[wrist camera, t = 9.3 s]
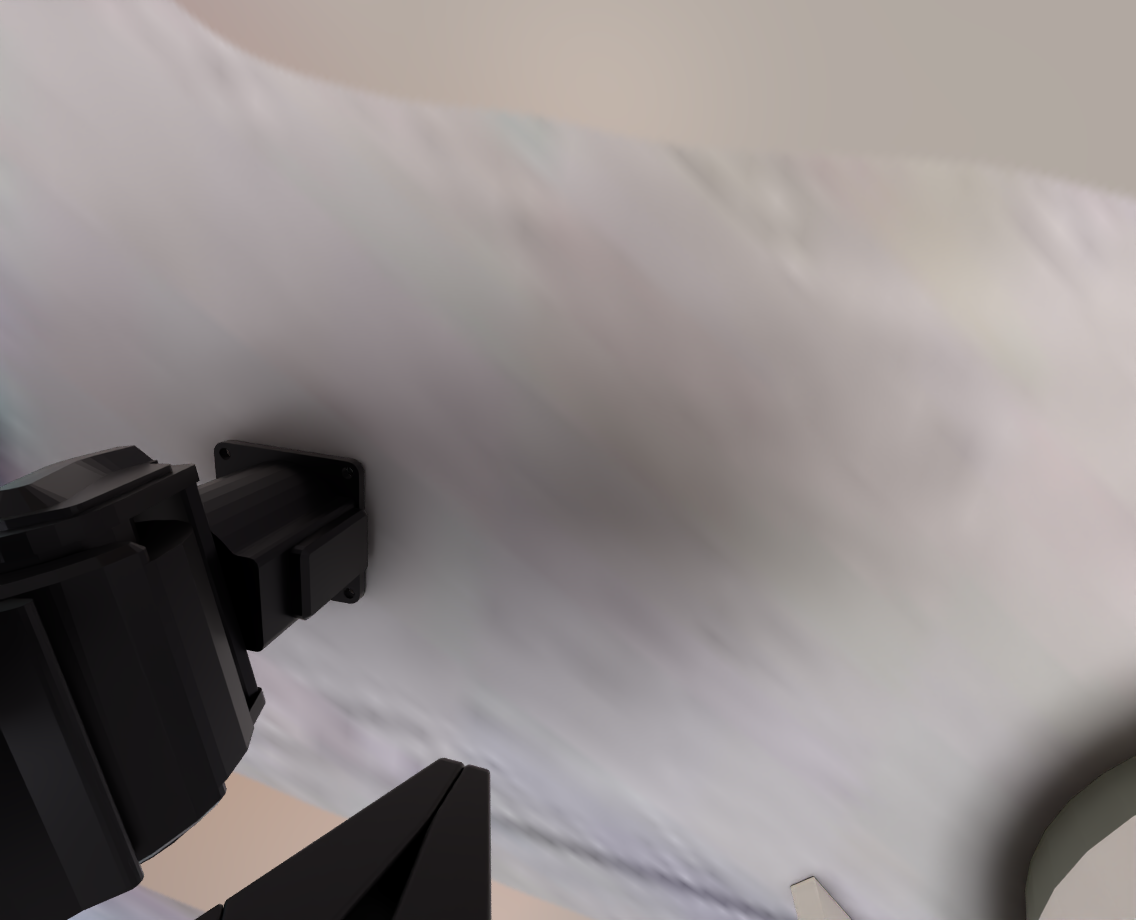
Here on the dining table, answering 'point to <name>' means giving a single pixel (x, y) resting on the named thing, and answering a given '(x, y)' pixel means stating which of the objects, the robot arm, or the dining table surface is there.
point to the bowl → (1089, 854)
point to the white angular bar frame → (815, 902)
